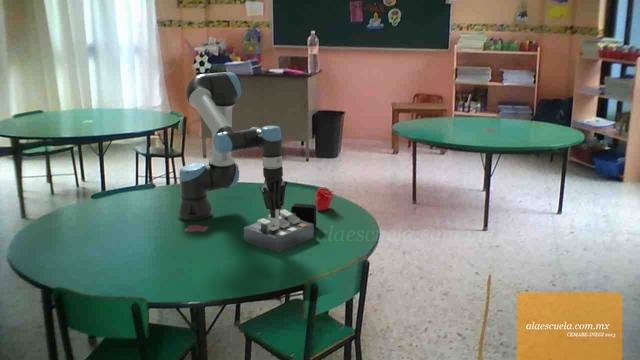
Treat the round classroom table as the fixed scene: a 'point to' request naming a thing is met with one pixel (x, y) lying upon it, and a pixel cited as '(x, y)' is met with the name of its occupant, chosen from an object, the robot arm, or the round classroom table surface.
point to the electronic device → (305, 212)
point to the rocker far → (290, 216)
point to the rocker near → (267, 224)
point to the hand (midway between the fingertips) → (275, 224)
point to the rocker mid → (281, 222)
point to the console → (279, 235)
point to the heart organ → (323, 199)
